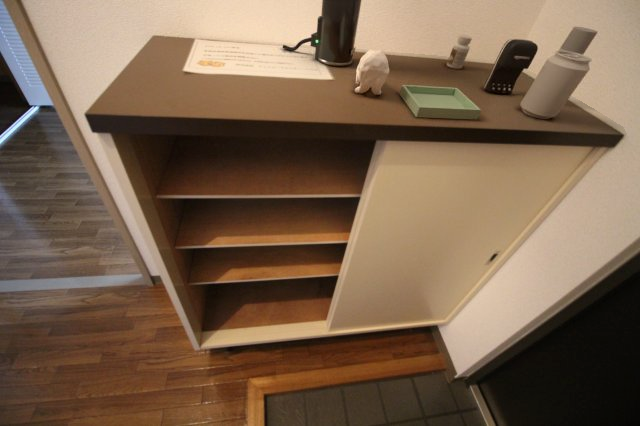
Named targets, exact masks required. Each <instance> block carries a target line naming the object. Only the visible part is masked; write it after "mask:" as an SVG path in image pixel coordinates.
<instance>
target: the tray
mask: <svg viewBox="0 0 640 426" xmlns="http://www.w3.org/2000/svg"><path fill="white" fill-rule="evenodd" d="M399 96H400V98H401V99H402V100H403V102H404V103H405V104H406V106H407V107H408V109H409V110H410V111H411V112H412V114H413V115H414V116H415V118H423V119H424V118H426V119H450V120H451V119H453V120H471V121H472V120H478V119H479V118H478V117H479V116H480V114H481V112H482V109H481V108H480V107H479V106H478V105H477V104H476V103H474V102H473V101H472V100H471V99H470V98H469V97H468V96H467V95H466V94H464V93H463V92H462V91H461V90H460V89H459V88H458V87H449V86H447V87H446V86H433V85H432V86H431V85H417V84H416V85H415V84H401V85H400V89H399Z"/></svg>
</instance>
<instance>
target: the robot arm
mask: <svg viewBox="0 0 640 426" xmlns="http://www.w3.org/2000/svg"><path fill="white" fill-rule="evenodd" d="M361 6H362V0H322V1H321V14H320V15H319V16H318V17H317V24H316V32H313V33H311V35H310V37H307V38H304V39H301V40H300V41H298V42H297V44H296V45H294V46H288V45H286V44H282V49H284V50H286V51H290V52H295V51H297V50H298V49H299V48H300V47H301V46H302V45H304V44H306V43H310V47H312V48H315V50H314V60H316V61H319V62H320V63H322V64H325V65H328V66H333V67H346V66H350V65H352V63H353V57H354V53H356V49H357V48H356V46H355V44H356V37H357V32H358V25H359V18H360V13H361V12H360V11H361Z"/></svg>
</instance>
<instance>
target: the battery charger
mask: <svg viewBox="0 0 640 426" xmlns="http://www.w3.org/2000/svg"><path fill="white" fill-rule="evenodd" d="M538 46H539V45H538V44H537V43H535V42H534V41H532V40H530V39H525V38H510V39H508V40H507V41H505V42H504V44H503V45H502V47H501V49H500V50H499V53H498V55H497V56H496V58H495V62H494V63H493V66H492V68H491V70H490V72H489V75H488V77H487V79H486V81H485V83H484V84H483V89H484V90H485V91H487V92H488V93H492V94H501V95H511V94H512V92H513V91H514V88H515V85H516V83H517V81H518V79H519V77H520V76H521V74H522V72H523V71H524V70H528V69H529V68H530V66H531V64H532V62H533V60H534V59H535V57H536V55H537V53H538V50H539V47H538Z"/></svg>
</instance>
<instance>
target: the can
mask: <svg viewBox="0 0 640 426" xmlns="http://www.w3.org/2000/svg"><path fill="white" fill-rule="evenodd" d="M592 61H593V60H592V58H591V57H589V56H587V55H584V54H583V55H582V54H578V53H574V52H569V51H561V50H560V51H559V50H556V51H555V52H554V55H552V56H550V57H547V59H546V60H545V62H544V63H543V65H542V67H541V68H540V70H539V72H538V73H537V75H536V77H535V79H534V80H533V81H532V84H531V85H530V87H529V89H528V90H527V91H526V93H525V95H524V96H523V99H522V100H521V102H520V108H521V110H522V112H523V113H524V114H526V115H528V116H529V117H533V118H536V119H540V120H541V119H542V120H548V119H550V118H551V119H552V118H554V117H557V116H558V114H559V113H560V112H561V110H562V109H563V107H564V106H565V105H566V103H567V102H568V100H569V99H570V97H571V96H572V94H573V93H574V92H575V90H576V89H577V88H578V86H579V85H580V84H581V82H582V81H583V79H584V78H585V77H586V75H587V74H588V73H589V71H590V62H592Z"/></svg>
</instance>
